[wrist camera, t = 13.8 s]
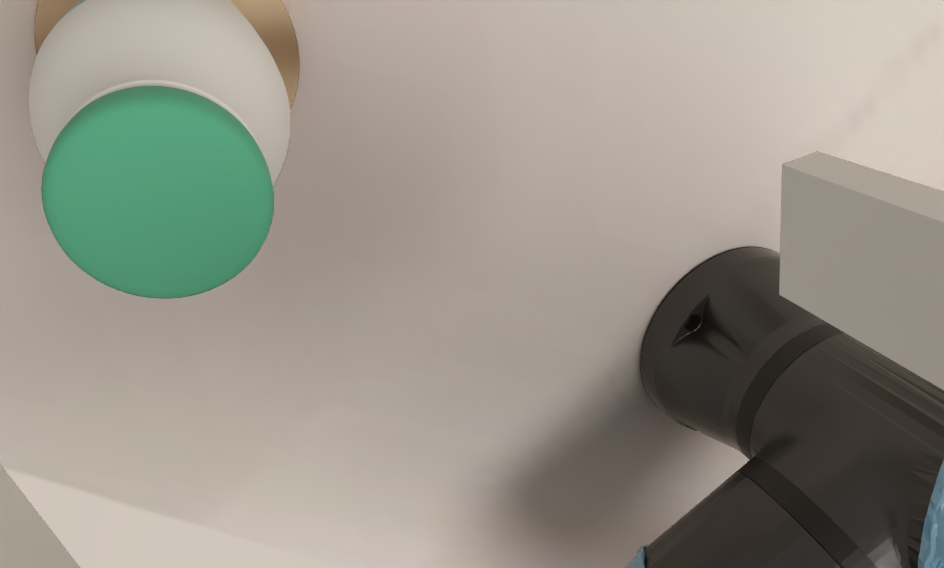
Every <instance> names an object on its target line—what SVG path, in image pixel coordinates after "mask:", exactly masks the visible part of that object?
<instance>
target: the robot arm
mask: <svg viewBox="0 0 944 568" xmlns="http://www.w3.org/2000/svg"><path fill="white" fill-rule="evenodd" d="M641 375H642V380H643V384H644V387H645V389H646V391H647V393H648V395H649V396H650V398H651V399H652V400H653V401H654V402H655V403H656V404H657V405H658V406H659V407H660V408H661V409H662V410H663V411H664V412H665V413H666V414H667V415H668V416H669V417H670V418H671V419H673V420H674V421H675V422H677V423H678V424H680V425H682V426H684V427H687V428H690V429H693V430H695V431H699V432H701V433H703V434H705V435H707V436H709V437H711V438H714V439H716V440H718V441H720V442H722V443H724V444H726V445H729V446H731V447H733V448H735V449H737V450H739V451H740V452H742V453H743V454H744V455H745V456H746V457H747V458H748V459H750V461H748V462H747V463H746V464H745V465H744V466H743V467H741V468H740V469H739V470H738V471H736V472H735V473H734V474H733V475H732V476H731V477H729V478H728V479H727V480H726V481H725V482H723V483H722V484H721V485H720V486H719V487H718V488H716V489H715V490H714V491H713V492H712V493H710V494H709V495H708V496H707V497H706V498H705V499H703V500H702V501H701V502H700V503H699V504H697V505H696V506H695V507H694V508H693V509H691V510H690V511H689V512H688V513H687V514H686V515H684V516H683V517H682V518H681V519H680V520H678V521H677V522H676V523H675V524H674V525H672V526H671V527H670V528H669V529H668V530H667V531H665V532H664V533H663V534H662V535H661V536H659V537H658V538H657V539H656V540H655V541H654V542H652V543H651V544H650V545H649V546H648V545H646V544H645V545H644V546H642V547H641V548H640V549H639V551H638V554H637V556H636V557H635V558H634V559H633V560H632V561H631V562H630V563H629V564H628V565H627V566H626V567H625V568H944V191H941V190H937V189H934V188H931V187H928V186H925V185H922V184H919V183H915V182H912V181H909V180H906V179H903V178H900V177H896V176H893V175H890V174H887V173H884V172H881V171H878V170H874V169H871V168H868V167H865V166H862V165H859V164H855V163H852V162H849V161H846V160H843V159H840V158H837V157H833V156H830V155H827V154H824V153H821V152H818V151H816V152H814V153H811V154H808V155H806V156H803V157H800V158H798V159H795V160H792V161H790V162H787V163H784V164H782V188H781V235H780V254H779V253H777V252H775V251H772V250H769V249H766V248H761V247H746V248H739V249H735V250H731V251H728V252H725V253H723V254H720V255H718V256H716V257H714V258H712V259H710V260H708V261H707V262H705V263H703V264H702V265H700V266H699V267H697V268H696V269H695V270H693V271H692V272H691V273H690V274H689V275H687V276H686V277H685V278H684V279H683V280H682V281H681V282H680V283H679V284H678V285H677V286H676V287H675V288H674V289H673V290H672V292H671V293H670V294H669V295H668V297H667V298H666V299H665V300H664V302H663V303H662V305H661V306H660V308H659V309H658V311H657V313H656V315H655V316H654V318H653V320H652V322H651V324H650V327H649V329H648V332H647V334H646V337H645V341H644V344H643V349H642V355H641ZM0 568H80V567H79V565H78V564H77V563H76V562H75V560H74V559H73V558H72V556H71V555H70V554H69V552H68V551H67V550H66V549H65V547H64V546H63V545H62V543H61V542H60V541H59V540H58V538H57V537H56V536H55V534H54V533H53V532H52V530H51V529H50V528H49V526H48V525H47V524H46V522H45V521H44V520H43V519H42V517H41V516H40V515H39V513H38V512H37V511H36V510H35V508H34V507H33V506H32V504H31V503H30V502H29V500H28V499H27V498H26V496H25V495H24V494H23V493H22V491H21V490H20V489H19V487H18V486H17V485H16V483H15V482H14V481H13V480H12V478H11V477H10V476H9V474H8V473H7V472H6V470H5V469H4V468H3V467H2V465H1V464H0Z"/></svg>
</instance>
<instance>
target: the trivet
mask: <svg viewBox="0 0 944 568" xmlns="http://www.w3.org/2000/svg"><path fill="white" fill-rule="evenodd" d="M79 1H80V0H39V2H38V6H37V12H36V17H35V46H36V53H37V54H38V52H39V49H40V47H41V46H42V44H43V42H44V40H45V39H46V37H47V36H48V34H49V33H50V32H51V30H52V29H53V28H54V26H55V25H56V24H57V23H58V21H59V20H60V19H61V18H62V17H63V16H64V15H65V14H66V13H67V12H68V10H70V9H71V8H72V7H73V6H74V5H76V4H77V3H78V2H79ZM230 1H231V2H232V3H233V4H234V5H235V6H236V7H237V8H238V9H239V10H240V12H241V13H242V14H243V15H244V16H245V18H246V19H247V20H248V21H249V23H250V24H251V25H252V27H253V28H254V29H255V31H256V32H257V33H258V35H259V36H260V38H261V39H262V41H263V42H264V44H265V45H266V47H267V48H268V50H269V52H270V53H271V55H272V57H273V59H274V61H275V63H276V65H277V67H278V70H279V72H280V74H281V76H282V79H283V82H284V85H285V88H286V91H287V95H288V100H289V107H290V109H291V107H292V105H293V101H294V98H295V94H296V91H297V85H298V79H299V52H298V44H297V39H296V35H295V31H294V27H293V25H292V22H291V19H290V16H289V14H288V12H287V10H286V8H285V6H284V4H283V2H282V0H230Z"/></svg>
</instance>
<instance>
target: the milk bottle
mask: <svg viewBox="0 0 944 568" xmlns="http://www.w3.org/2000/svg"><path fill="white" fill-rule="evenodd" d="M28 108H29V118H30V124H31V129H32V132H33V135H34V139H35V142H36V145H37V147H38V150H39V152H40V154H41V157H42V159H43V161H44V162H45V167H44V171H43V177H42V202H43V207H44V212H45V215H46V218H47V221H48V224H49V226H50V228H51V231H52V233H53V235H54V237H55V238H56V240H57V242H58V244H59V245H60V246H61V248H62V249H63V251H64V252H65V253H66V254H67V255H68V257H69V258H70V259H71V260H72V261H73V262H74V263H75V264H76V265H77V266H78V267H79V268H81V269H82V270H83V271H84V272H86V273H87V274H88V275H90V276H91V277H93V278H95V279H96V280H98V281H100V282H101V283H103V284H105V285H107V286H109V287H112V288H114V289H116V290H119V291H122V292H125V293H129V294H133V295H137V296H142V297H148V298H180V297H187V296H192V295H196V294H200V293H203V292H206V291H209V290H211V289H214V288H216V287H218V286H220V285H222V284H224V283H226V282H227V281H229V280H230V279H232V278H233V277H235V276H236V275H237V274H238V273H240V272H241V271H242V270H243V269H244V268H245V267H246V266H247V265H248V264H249V263H250V262H251V261H252V260H253V258H254V257H255V256H256V254H257V253H258V251H259V250H260V248H261V246H262V244H263V243H264V241H265V239H266V236H267V234H268V232H269V229H270V225H271V222H272V217H273V210H274V193H273V185H274V184H275V182H276V180H277V178H278V176H279V174H280V172H281V169H282V167H283V164H284V162H285V159H286V155H287V152H288V147H289V142H290V131H291V123H290V107H289V100H288V95H287V91H286V88H285V85H284V82H283V79H282V76H281V74H280V72H279V70H278V67H277V65H276V63H275V61H274V59H273V57H272V55H271V53H270V52H269V50H268V48H267V47H266V45H265V44H264V42H263V41H262V39H261V38H260V36H259V35H258V33H257V32H256V31H255V29H254V28H253V27H252V25H251V24H250V23H249V21H248V20H247V19H246V18H245V16H244V15H243V14H242V13H241V12H240V10H239V9H238V8H237V7H236V6H235V5H234V4H233V3H232V2H231V1H230V0H80V1H79V2H78V3H77V4H76V5H74V6H73V7H72V8H71V9H70V10H68V12H67V13H66V14H65V15H64V16H63V17H62V18H61V19H60V20H59V21H58V23H57V24H56V25H55V26H54V28H53V29H52V30H51V32H50V33H49V34H48V36H47V37H46V39H45V40H44V42H43V44H42V46H41V47H40V49H39V52H38V54H37V56H36V59H35V62H34V65H33V69H32V72H31V79H30V85H29V94H28Z"/></svg>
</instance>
